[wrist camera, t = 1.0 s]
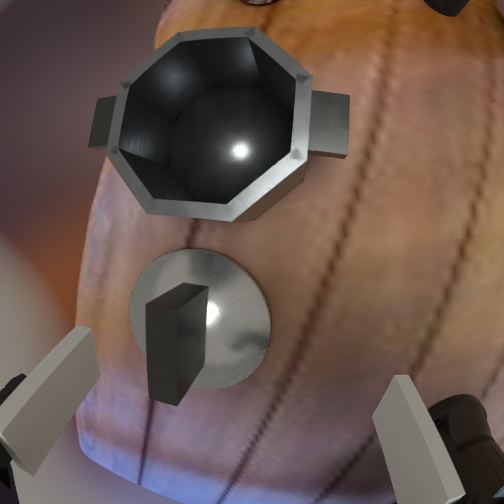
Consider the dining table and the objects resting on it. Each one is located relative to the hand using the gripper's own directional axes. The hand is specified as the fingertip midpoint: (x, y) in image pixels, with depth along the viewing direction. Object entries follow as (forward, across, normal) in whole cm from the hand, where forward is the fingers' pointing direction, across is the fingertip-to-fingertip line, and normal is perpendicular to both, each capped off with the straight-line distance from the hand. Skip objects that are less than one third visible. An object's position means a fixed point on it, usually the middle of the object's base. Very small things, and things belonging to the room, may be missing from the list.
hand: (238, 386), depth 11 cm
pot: (+26, +5, -10) cm, 28 cm away
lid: (+22, +6, +11) cm, 25 cm away
